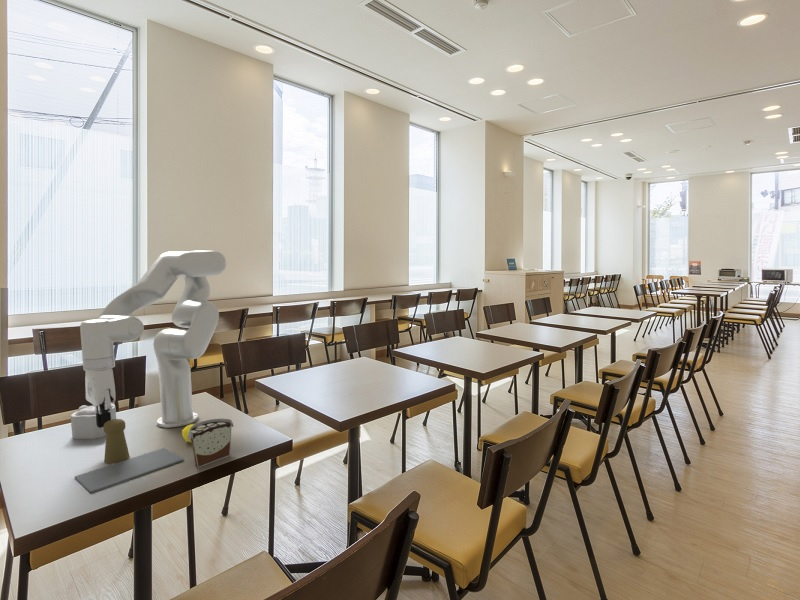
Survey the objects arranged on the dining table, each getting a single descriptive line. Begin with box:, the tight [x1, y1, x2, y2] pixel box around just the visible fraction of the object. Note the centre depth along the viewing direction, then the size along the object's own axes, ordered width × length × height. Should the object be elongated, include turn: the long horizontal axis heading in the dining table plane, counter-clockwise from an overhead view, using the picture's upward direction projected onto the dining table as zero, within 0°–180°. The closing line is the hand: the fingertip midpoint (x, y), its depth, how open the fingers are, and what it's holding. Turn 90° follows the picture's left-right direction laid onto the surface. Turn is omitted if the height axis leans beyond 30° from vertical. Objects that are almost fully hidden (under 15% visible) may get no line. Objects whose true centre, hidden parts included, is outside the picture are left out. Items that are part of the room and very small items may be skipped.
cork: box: [103, 418, 131, 465], centre depth 127 cm, size 6×6×11 cm
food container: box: [188, 418, 234, 469], centre depth 127 cm, size 12×6×10 cm, turn 141°
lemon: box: [181, 423, 196, 443], centre depth 139 cm, size 7×5×5 cm
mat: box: [74, 447, 185, 494], centre depth 121 cm, size 12×22×1 cm, turn 140°
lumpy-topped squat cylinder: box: [70, 403, 117, 440], centre depth 148 cm, size 10×13×9 cm
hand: (104, 425), depth 132 cm, fingers closed
